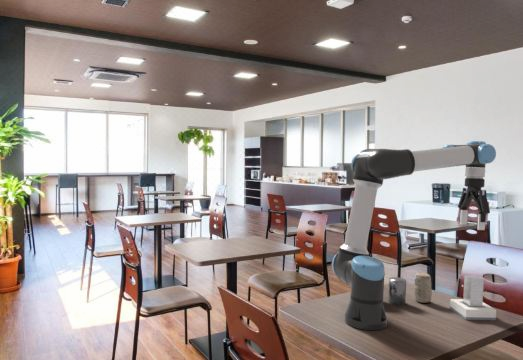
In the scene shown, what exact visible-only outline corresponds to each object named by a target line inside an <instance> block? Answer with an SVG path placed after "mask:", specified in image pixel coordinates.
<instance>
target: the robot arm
mask: <svg viewBox="0 0 523 360" xmlns="http://www.w3.org/2000/svg"><path fill="white" fill-rule="evenodd" d="M496 151H497V149H496V148H495V147H494V146H493V145H492V144H490V143H486V142H485V141H480V140H478V141H477V140H472V141H471V140H470V141H467V143H466V144H446V145H444V146H442V147H441V148H434V149H433V148H431V149H422V150H421V149H420V150H414V151H412V150H411V149H407V148H405V149H391V148H390V149H389V148H366V149H362V150H359V151H358V152H356V154H355V155H354V156H353V157H352V160H351V163H350V168H351V171H352V173H353V176H352V181H353V182H354V184H355V188H354V192H353V198H352V202H351V208H350V212H349V213H350V214H349V217H348V224H347V227H346V228H347V229H346V233H345V238H344V243H342V245H340V246H339V247H338V248H339V250H338V252H337V253H336V254H335V255H334V256H333V257H332V261H331V268H332V272H333V273H334V275H335V276H336V277H337V279H338V280H340V281H342V282H343V283H345V284H346V285H349V286H350V298H349V303H348V304H347V308H346V311H345V313H344V321H345V323H346V324H347V325H348V326H350V327H354V328H356V329H358V330H359V329H360V330H363V331H379V330H384V329H386V327H387V326H388V318H387V314H386V311H385V306H384V292H385V291H384V290H385V275H386V272H385V270H386V268H385V265H384V263H383V261H382V260H380V259H379V258H376V257H372V256H370V253H369V251H368V249H367V244H368V239H369V233H370V228H371V223H372V217H373V213H374V207H375V204H376V198H377V194H378V190H379V188H381V187H382V186H383V184H384V180H388V179H389V180H390V179H394V178H399V177H404V176H409V175H410V176H411V175H412V174H413V173H414V172H415V173H416V172H421V171H429V170H436V169H437V170H438V169H445V168H451V167H460V166H461V167H462V166H465V171H464V172H465V174H464V176H465V178H464V187H463V188H462V192H461V195H460V199H459V201H458V204H457V208H458V209H459V211H460V218H459V219H460V220H459V225H461V226H467V225H468V210H469V209H468V207H469V206H470V204H471V202H472V201H474V202H475V205H476V208H477V210H478V213H477V214H478V216H477V231H485V229H486V220H487V217H486V216H487V215H488V214H490V213H491V212H490V207H489V203H488V202H489V201H488V198H487V190H486V189H482V188H484V187H485V181H486V180H485V177H486V166H487V164H490V163H493V162H494V161H495V159H496V156H497V152H496Z"/></svg>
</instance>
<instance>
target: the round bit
mask: <svg viewBox="0 0 523 360" xmlns="http://www.w3.org/2000/svg"><path fill="white" fill-rule="evenodd" d="M406 297H407V279H405V278H403V277H397V276H395V277H393V276H392V277H389V278H388V296H387V303H388V304H389V305H391V306H397V307H398V306H399V307H402V306H405V305H406Z"/></svg>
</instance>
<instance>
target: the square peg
mask: <svg viewBox="0 0 523 360" xmlns="http://www.w3.org/2000/svg"><path fill="white" fill-rule="evenodd" d="M484 283H485V279H484V278H483V277H481V276H479V275H475V274H469V275H468V274H464V278H463V294H462V295H463V298H462V299H463V304H464V305H466V306H468V307H479V308H482V303H483V302H484V301H483V300H484Z"/></svg>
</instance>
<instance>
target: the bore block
mask: <svg viewBox="0 0 523 360" xmlns="http://www.w3.org/2000/svg"><path fill="white" fill-rule="evenodd" d="M449 309H450V310H451V311H453V312H454V313H455V314H456V315H458V316H459V317H461V318H462V319H464V320H465V321H496V320H497V309H495V308H493V307H492V306H490V305H489V304H487V303H485V302H484V301H483V303H482V308H479V307H468V306H466V305H464V304H463V298H450V299H449Z"/></svg>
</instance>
